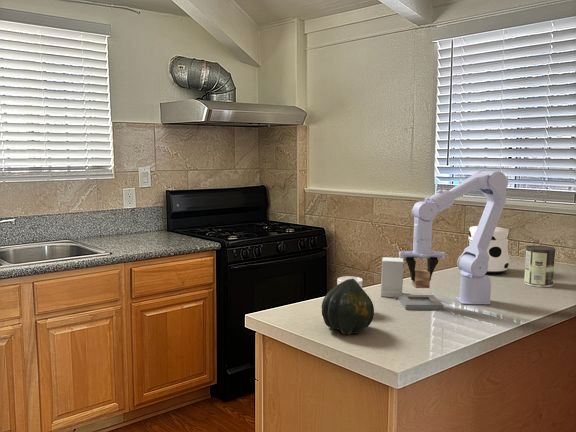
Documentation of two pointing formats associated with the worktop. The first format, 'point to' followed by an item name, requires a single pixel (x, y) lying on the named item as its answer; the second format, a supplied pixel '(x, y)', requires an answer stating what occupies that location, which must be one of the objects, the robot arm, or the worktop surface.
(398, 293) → the supplement box
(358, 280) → the white cup
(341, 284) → the squash
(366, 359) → the worktop surface
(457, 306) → the worktop surface
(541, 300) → the worktop surface
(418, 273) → the brown block
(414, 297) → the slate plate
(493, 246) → the milk container
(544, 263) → the coffee can
